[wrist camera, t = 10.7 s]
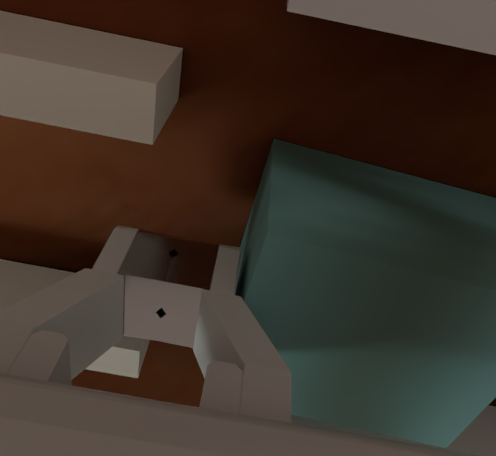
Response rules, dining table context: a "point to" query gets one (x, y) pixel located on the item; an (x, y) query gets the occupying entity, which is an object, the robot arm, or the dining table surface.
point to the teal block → (374, 293)
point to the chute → (83, 117)
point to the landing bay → (439, 31)
